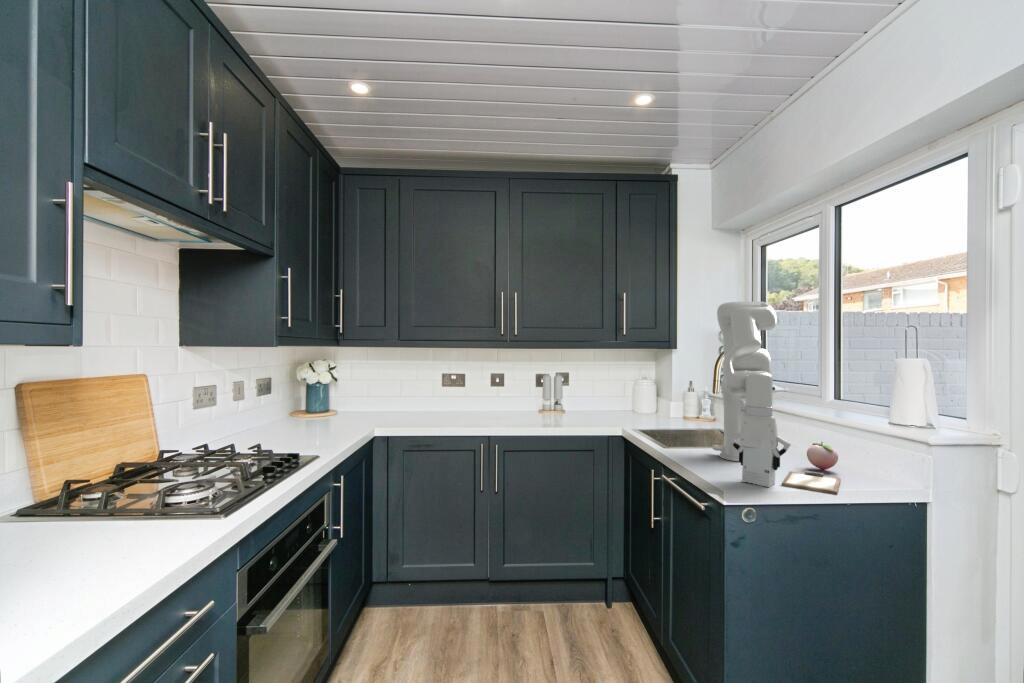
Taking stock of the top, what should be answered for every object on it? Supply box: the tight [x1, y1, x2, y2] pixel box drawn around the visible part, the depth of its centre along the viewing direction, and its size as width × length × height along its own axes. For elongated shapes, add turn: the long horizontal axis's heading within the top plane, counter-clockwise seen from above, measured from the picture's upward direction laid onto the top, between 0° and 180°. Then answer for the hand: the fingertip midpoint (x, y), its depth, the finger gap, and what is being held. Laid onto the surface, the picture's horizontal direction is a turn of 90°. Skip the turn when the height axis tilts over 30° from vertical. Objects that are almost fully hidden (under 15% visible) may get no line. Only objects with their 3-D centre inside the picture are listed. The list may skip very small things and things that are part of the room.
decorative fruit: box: [806, 441, 839, 471], centre depth 161 cm, size 9×8×10 cm
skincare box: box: [741, 439, 776, 488], centre depth 146 cm, size 8×6×15 cm
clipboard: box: [781, 470, 841, 495], centre depth 146 cm, size 14×17×2 cm
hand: (759, 466), depth 146 cm, fingers closed on skincare box, 8 cm apart
